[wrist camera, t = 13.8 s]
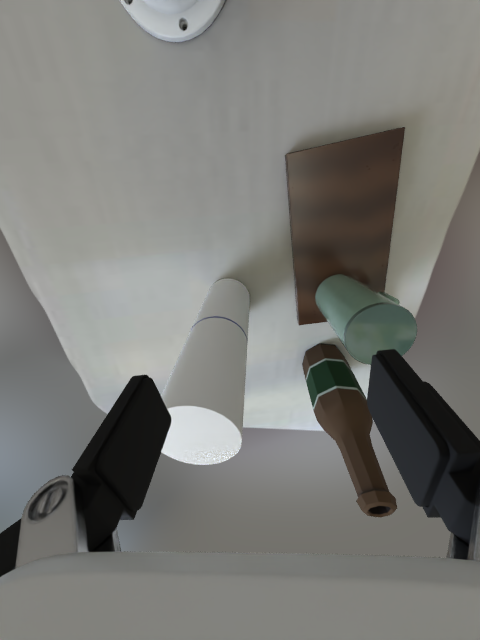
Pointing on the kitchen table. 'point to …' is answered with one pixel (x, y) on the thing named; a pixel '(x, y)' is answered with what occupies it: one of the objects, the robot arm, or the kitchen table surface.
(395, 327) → the jug
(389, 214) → the serving board
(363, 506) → the beer bottle
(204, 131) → the kitchen table surface
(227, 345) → the cylindrical container
